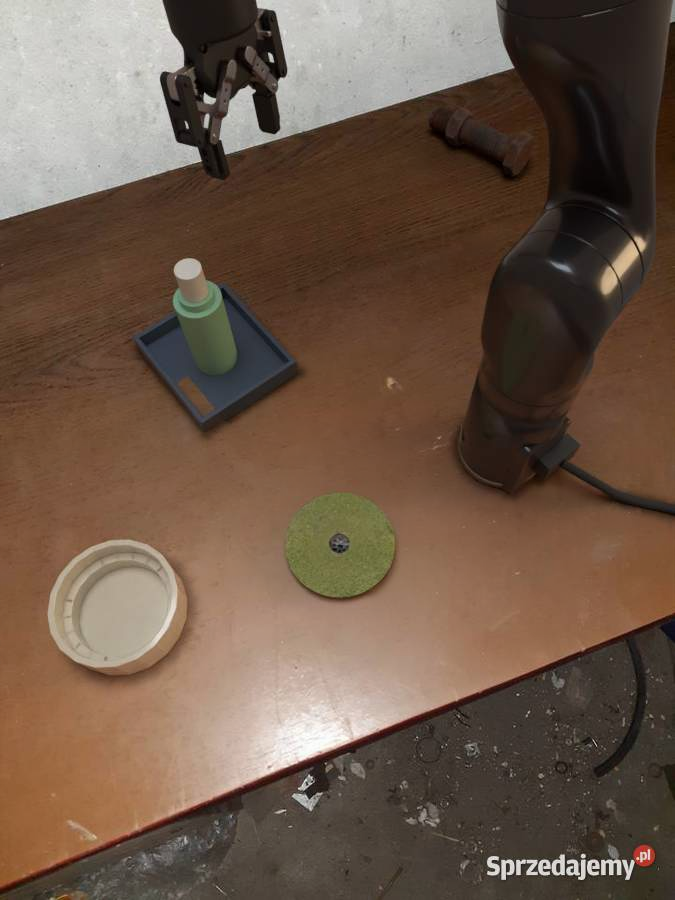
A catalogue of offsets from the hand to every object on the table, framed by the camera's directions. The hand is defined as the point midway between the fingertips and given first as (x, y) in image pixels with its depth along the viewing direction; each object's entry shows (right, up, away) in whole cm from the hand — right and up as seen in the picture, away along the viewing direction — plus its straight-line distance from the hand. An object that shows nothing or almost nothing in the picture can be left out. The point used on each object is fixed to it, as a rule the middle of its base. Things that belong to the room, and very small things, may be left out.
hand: (246, 153), depth 68 cm
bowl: (-12, -46, +2) cm, 47 cm away
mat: (+9, -39, +5) cm, 41 cm away
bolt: (+29, +14, +31) cm, 45 cm away
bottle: (-6, -18, +16) cm, 24 cm away
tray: (-6, -18, +16) cm, 25 cm away
